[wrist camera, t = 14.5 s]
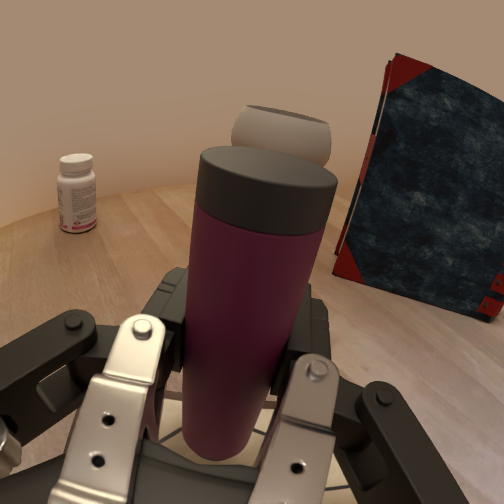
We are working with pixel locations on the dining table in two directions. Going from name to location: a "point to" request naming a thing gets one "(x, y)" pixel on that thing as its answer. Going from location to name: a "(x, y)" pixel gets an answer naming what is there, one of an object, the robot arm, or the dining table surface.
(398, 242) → the book
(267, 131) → the chalice
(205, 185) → the marker
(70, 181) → the pill bottle
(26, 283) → the dining table surface
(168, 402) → the pad
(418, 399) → the dining table surface
